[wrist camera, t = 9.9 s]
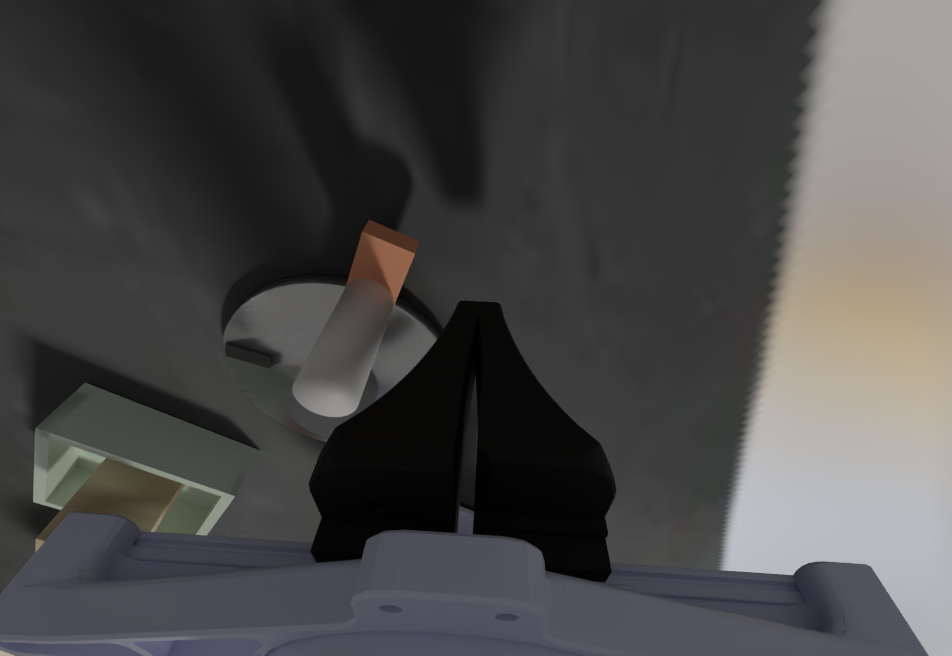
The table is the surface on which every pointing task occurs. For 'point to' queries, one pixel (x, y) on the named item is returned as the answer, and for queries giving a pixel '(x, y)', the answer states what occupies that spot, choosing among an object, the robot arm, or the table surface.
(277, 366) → the dial plate
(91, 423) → the tray
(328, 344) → the crank
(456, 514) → the robot arm
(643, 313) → the table surface
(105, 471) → the brown block
